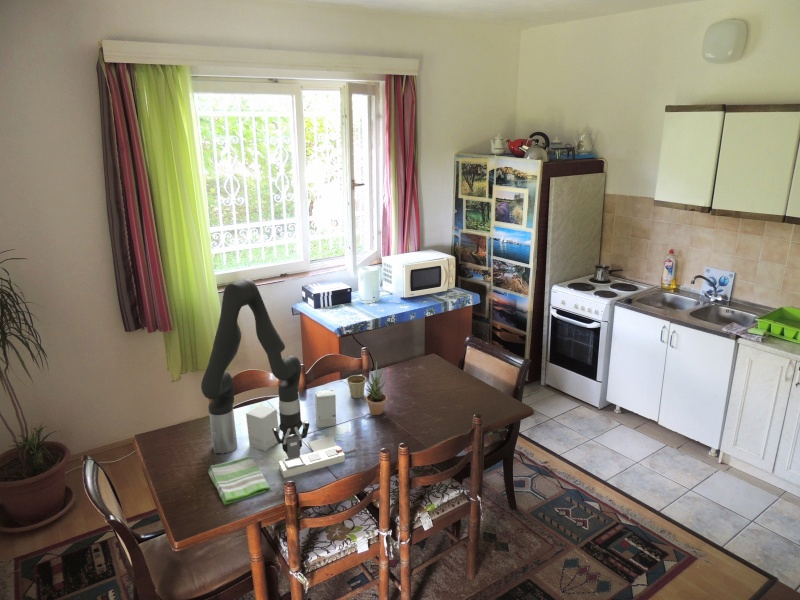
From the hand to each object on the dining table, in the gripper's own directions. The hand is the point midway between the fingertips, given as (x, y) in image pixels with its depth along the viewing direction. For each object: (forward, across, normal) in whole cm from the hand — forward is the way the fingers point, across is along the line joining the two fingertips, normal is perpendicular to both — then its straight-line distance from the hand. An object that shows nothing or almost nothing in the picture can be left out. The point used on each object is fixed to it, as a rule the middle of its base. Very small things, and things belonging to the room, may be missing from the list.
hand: (292, 449), depth 212 cm
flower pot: (+9, +44, +46) cm, 65 cm away
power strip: (+9, +10, 0) cm, 13 cm away
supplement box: (+9, -6, +23) cm, 26 cm away
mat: (+9, +15, +10) cm, 20 cm away
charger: (+2, 0, 0) cm, 2 cm away
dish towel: (+10, -20, +2) cm, 22 cm away
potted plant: (+9, +46, +27) cm, 54 cm away
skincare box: (+9, +22, +27) cm, 36 cm away
